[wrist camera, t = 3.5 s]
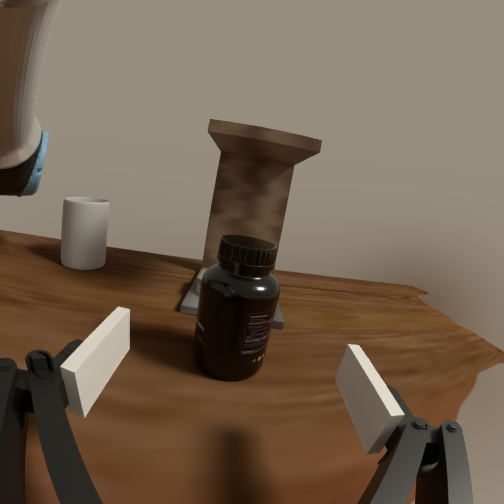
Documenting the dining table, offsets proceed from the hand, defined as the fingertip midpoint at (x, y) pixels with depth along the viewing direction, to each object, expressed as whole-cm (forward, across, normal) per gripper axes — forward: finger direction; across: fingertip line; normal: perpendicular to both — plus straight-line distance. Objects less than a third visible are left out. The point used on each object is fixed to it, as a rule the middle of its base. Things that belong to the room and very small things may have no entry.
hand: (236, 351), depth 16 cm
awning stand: (+28, 0, -7) cm, 29 cm away
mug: (+30, -28, -7) cm, 42 cm away
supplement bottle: (+9, 0, -7) cm, 12 cm away
